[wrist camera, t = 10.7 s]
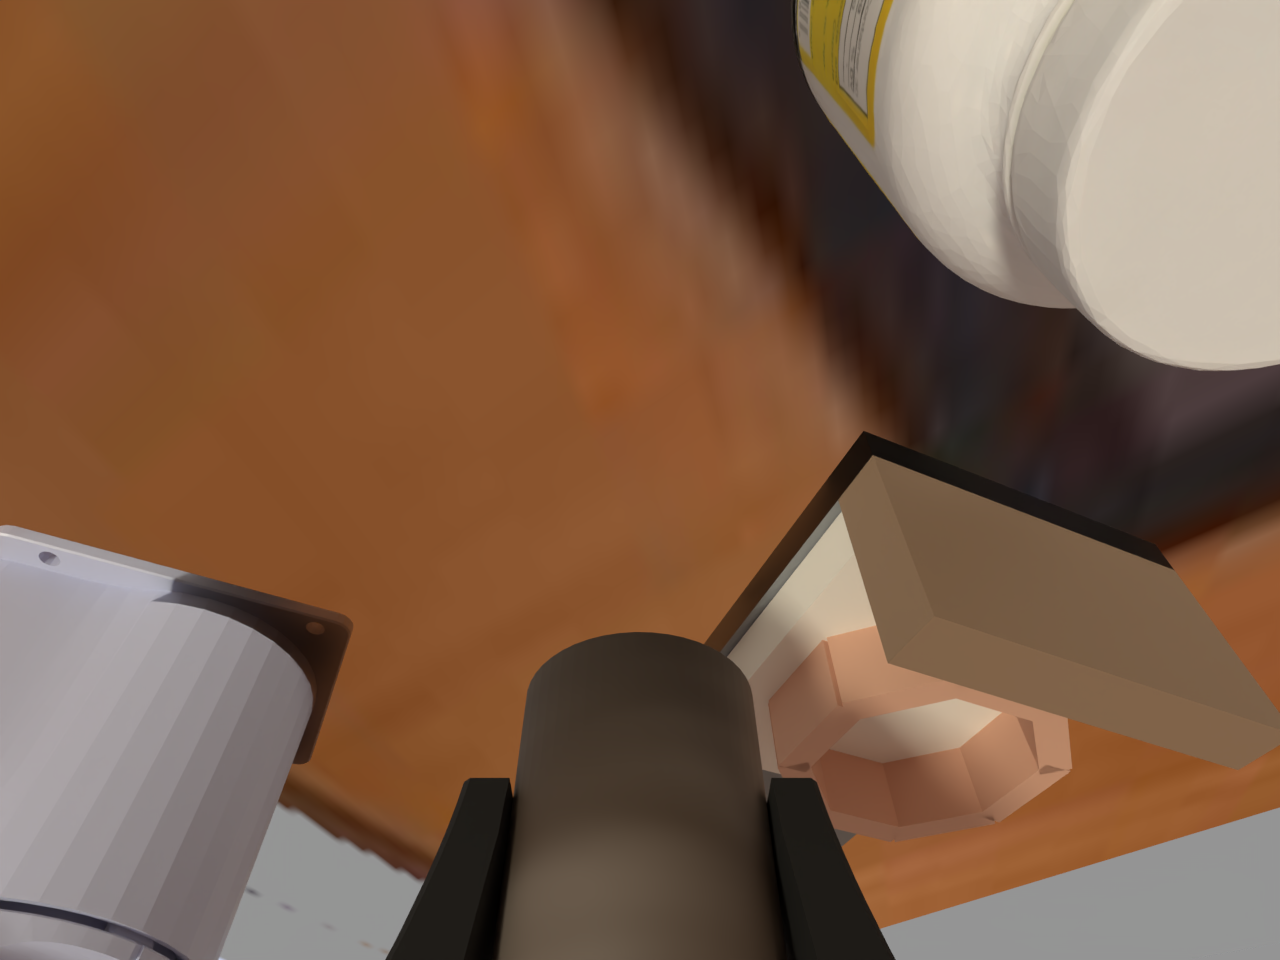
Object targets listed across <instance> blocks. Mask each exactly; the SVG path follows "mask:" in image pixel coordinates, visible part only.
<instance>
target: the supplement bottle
mask: <svg viewBox="0 0 1280 960" xmlns="http://www.w3.org/2000/svg"><path fill="white" fill-rule="evenodd" d="M791 28H792V35H793V41H794V46H795V51H796V55H797V59H798V62H799V65H800V69H801V71H802V74H803V76H804V79H805V81H806V83H807V85H808V88H809V89H810V91H811V93H812V95H813V96H814V98H815V100H816V101H817V103H818V104H819V106H820V107H821V109H822V111H823V112H824V114H825V115H826V117H827V119H828V120H829V122H830V123H831V124H832V125H833V127H834V128H835V129H836V130H837V132H838V133H839V135H840V136H841V137H842V139H843V140H844V141H845V143H846V144H847V145H848V147H849V148H850V149H851V151H852V152H853V153H854V155H855V156H856V157H857V159H858V160H859V162H860V163H861V164H862V166H863V167H864V168H865V170H866V171H867V172H868V174H869V175H870V176H871V178H872V179H873V180H874V181H875V183H876V184H877V186H878V187H879V188H880V189H881V191H882V192H883V193H884V194H885V196H886V197H887V199H888V200H889V201H890V203H891V204H892V205H893V206H894V208H895V209H896V211H897V212H898V213H899V215H900V216H901V217H902V219H903V220H904V221H905V223H906V224H907V225H908V227H909V228H910V229H911V231H912V232H913V233H914V234H915V236H916V237H917V238H918V239H919V241H920V242H921V243H922V244H923V245H924V246H925V247H926V248H927V249H928V250H929V251H930V252H931V253H932V254H933V255H934V256H935V257H936V258H937V259H938V260H939V261H940V262H941V263H942V264H943V265H945V266H946V267H947V268H948V269H950V270H951V271H952V272H954V273H955V274H957V275H958V276H959V277H961V278H962V279H963V280H965V281H967V282H969V283H971V284H973V285H974V286H976V287H978V288H980V289H982V290H984V291H986V292H988V293H991V294H993V295H996V296H998V297H1001V298H1004V299H1008V300H1011V301H1015V302H1018V303H1023V304H1028V305H1034V306H1041V307H1048V308H1076V309H1078V310H1079V311H1080V312H1081V313H1082V314H1083V315H1084V316H1085V317H1086V318H1087V319H1088V320H1089V321H1090V322H1091V323H1092V324H1093V325H1094V326H1096V327H1097V328H1098V329H1099V330H1100V331H1101V332H1102V333H1103V334H1104V335H1106V336H1107V337H1109V338H1110V339H1111V340H1113V341H1114V342H1116V343H1117V344H1118V345H1120V346H1122V347H1124V348H1126V349H1128V350H1130V351H1132V352H1134V353H1136V354H1138V355H1140V356H1141V357H1144V358H1147V359H1150V360H1152V361H1155V362H1158V363H1162V364H1167V365H1171V366H1175V367H1181V368H1187V369H1193V370H1199V371H1232V370H1244V369H1254V368H1261V367H1267V366H1272V365H1277V364H1280V0H791Z"/></svg>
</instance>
